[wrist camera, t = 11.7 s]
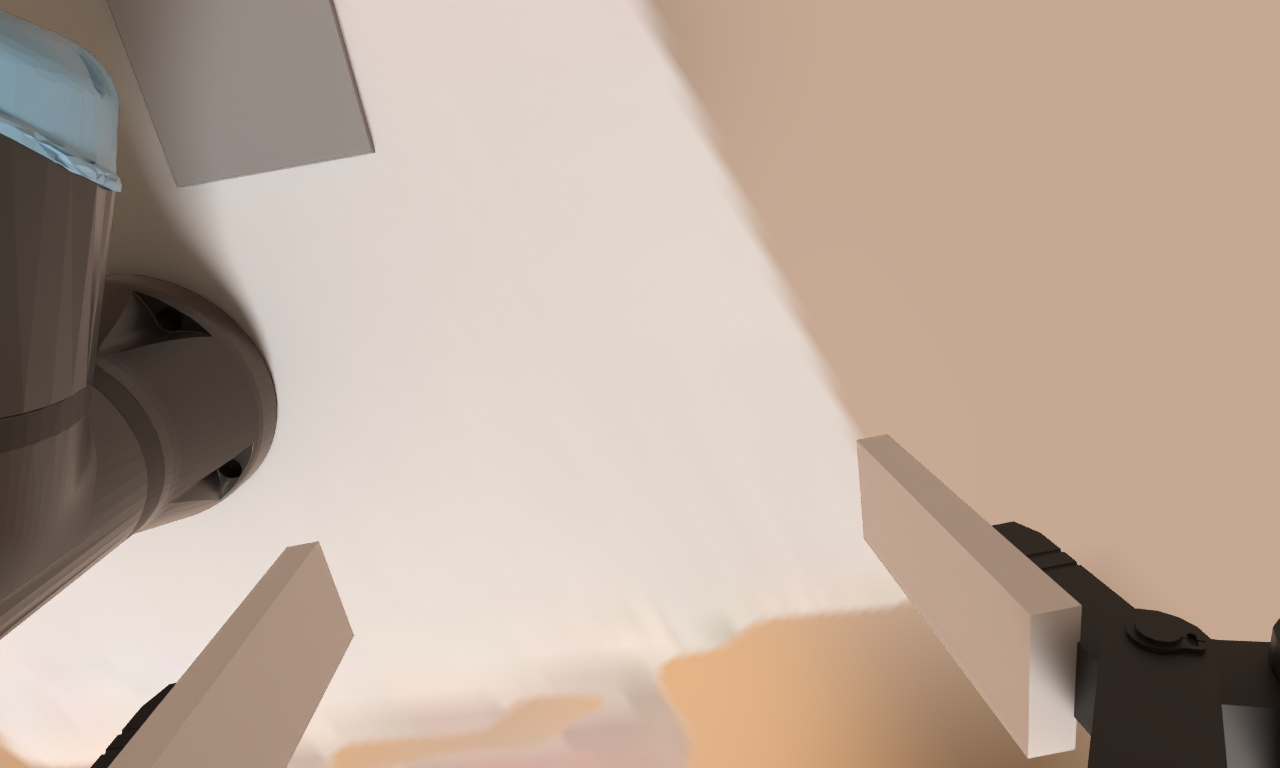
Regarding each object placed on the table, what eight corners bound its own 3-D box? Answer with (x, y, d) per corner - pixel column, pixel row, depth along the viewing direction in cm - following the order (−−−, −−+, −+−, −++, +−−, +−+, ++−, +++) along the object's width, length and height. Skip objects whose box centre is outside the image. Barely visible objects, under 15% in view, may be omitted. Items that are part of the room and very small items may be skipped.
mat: (183, 187, 37) (177, 187, 37) (101, -33, 34) (93, -36, 33) (374, 152, 38) (371, 152, 37) (312, -69, 34) (307, -74, 34)
